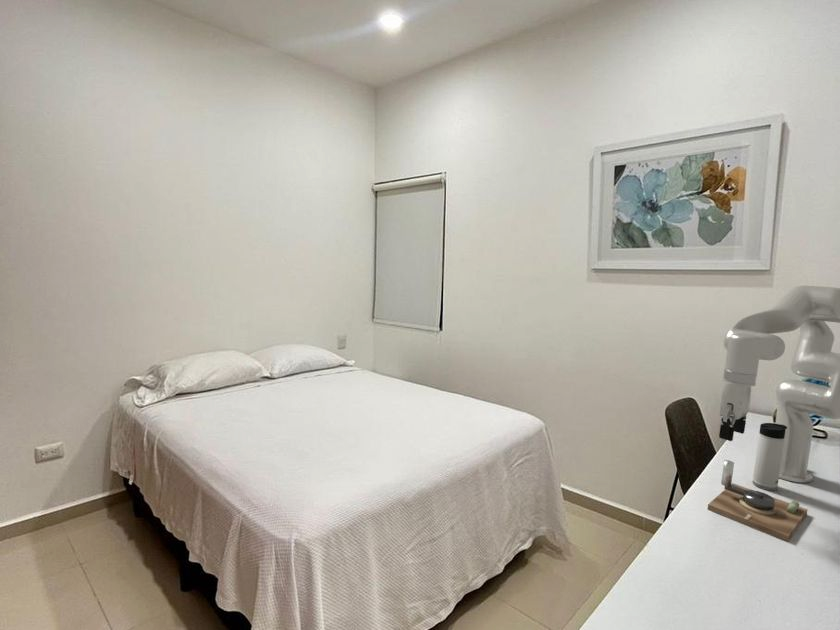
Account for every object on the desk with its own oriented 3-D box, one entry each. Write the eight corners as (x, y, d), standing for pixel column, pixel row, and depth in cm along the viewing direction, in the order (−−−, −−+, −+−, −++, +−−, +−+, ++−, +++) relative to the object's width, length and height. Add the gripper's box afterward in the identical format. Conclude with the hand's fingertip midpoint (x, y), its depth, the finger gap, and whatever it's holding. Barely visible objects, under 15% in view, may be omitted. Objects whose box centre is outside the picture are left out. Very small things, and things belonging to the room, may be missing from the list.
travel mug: (782, 492, 138) (792, 429, 135) (758, 489, 139) (767, 427, 137) (771, 482, 144) (780, 422, 141) (748, 479, 145) (756, 419, 143)
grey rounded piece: (724, 485, 136) (728, 457, 135) (777, 504, 126) (781, 474, 125) (716, 493, 131) (719, 463, 130) (769, 513, 122) (774, 481, 120)
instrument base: (731, 487, 140) (733, 477, 140) (806, 514, 126) (808, 503, 126) (707, 509, 128) (708, 498, 127) (787, 541, 114) (789, 529, 113)
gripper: (734, 370, 136) (727, 425, 138) (713, 378, 125) (705, 437, 128) (764, 376, 130) (756, 433, 133) (745, 385, 120) (736, 447, 122)
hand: (731, 435), depth 130 cm, fingers open, 9 cm apart
